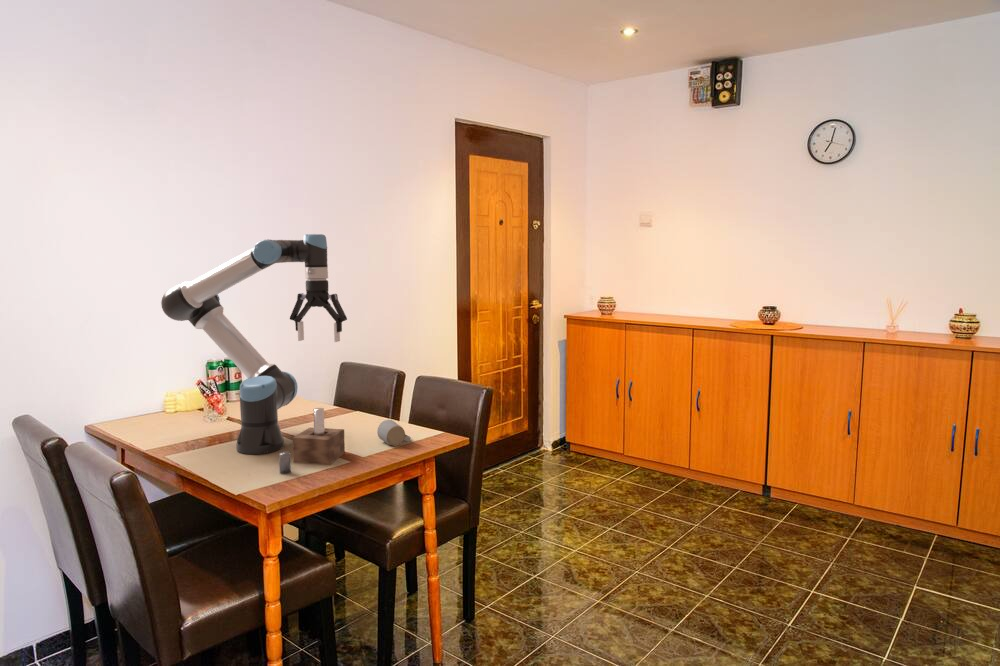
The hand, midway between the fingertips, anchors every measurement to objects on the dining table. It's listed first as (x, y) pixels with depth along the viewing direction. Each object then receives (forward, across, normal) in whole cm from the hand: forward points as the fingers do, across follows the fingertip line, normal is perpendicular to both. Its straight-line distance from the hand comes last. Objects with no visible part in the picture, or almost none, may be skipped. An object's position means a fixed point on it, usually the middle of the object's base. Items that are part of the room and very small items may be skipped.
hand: (319, 341), depth 232 cm
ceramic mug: (+35, +27, +1) cm, 44 cm away
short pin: (+35, +6, -35) cm, 50 cm away
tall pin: (+35, +9, -20) cm, 41 cm away
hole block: (+35, +9, -20) cm, 41 cm away
